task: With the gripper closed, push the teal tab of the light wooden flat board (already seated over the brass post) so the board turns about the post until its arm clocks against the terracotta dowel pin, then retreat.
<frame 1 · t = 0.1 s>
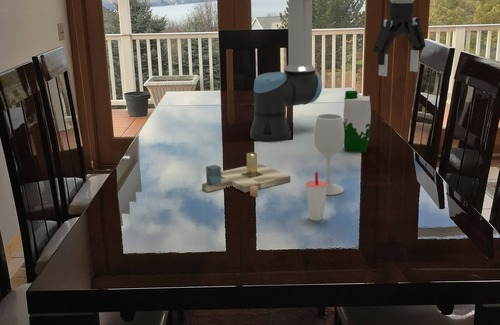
hand: (398, 73, 189), 28 cm above the table, fingers open, 13 cm apart
dowel: (254, 195, 168), on the table
cup: (316, 218, 152), on the table
light wooden flat board: (240, 171, 178), point 3 cm above the table, hinge at 0.0°
post: (252, 180, 181), on the table
milk carton: (355, 150, 211), on the table
wineglass: (328, 190, 172), on the table
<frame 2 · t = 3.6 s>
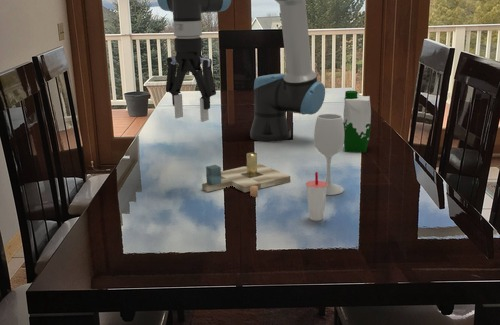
hand: (191, 119, 173), 19 cm above the table, fingers open, 8 cm apart
nothing on the table moved.
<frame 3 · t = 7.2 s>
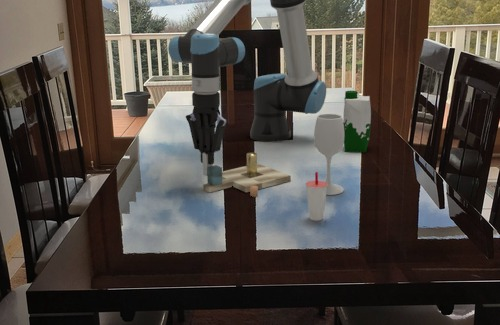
hand: (207, 174, 174), 4 cm above the table, fingers closed
light wooden flat board: (240, 171, 178), point 3 cm above the table, hinge at 2.5°, touching gripper
everything else where it was.
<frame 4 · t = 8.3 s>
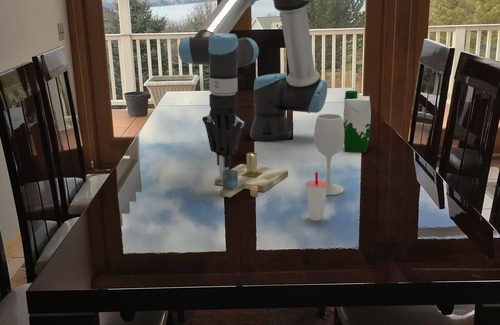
hand: (224, 177, 170), 4 cm above the table, fingers closed
light wooden flat board: (245, 173, 177), point 3 cm above the table, hinge at 28.7°, touching gripper
everything else where it was.
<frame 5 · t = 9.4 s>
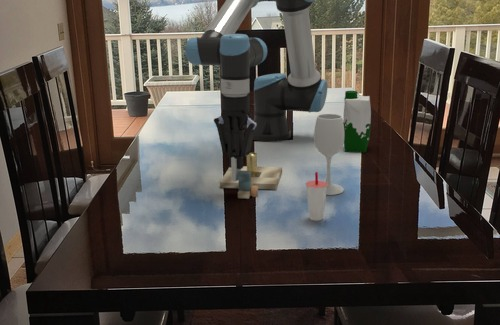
hand: (236, 179, 169), 4 cm above the table, fingers closed
light wooden flat board: (249, 173, 176), point 3 cm above the table, hinge at 47.4°, touching dowel, gripper
everything else where it was.
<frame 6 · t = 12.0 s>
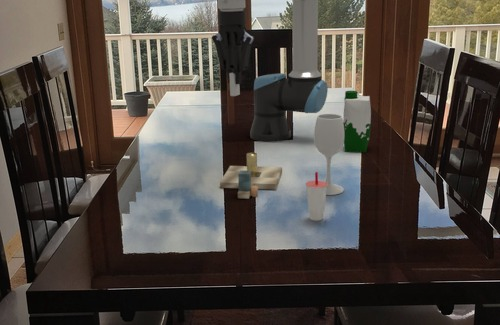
hand: (235, 95, 175), 25 cm above the table, fingers closed
light wooden flat board: (249, 173, 176), point 3 cm above the table, hinge at 47.3°, touching dowel
everything else where it was.
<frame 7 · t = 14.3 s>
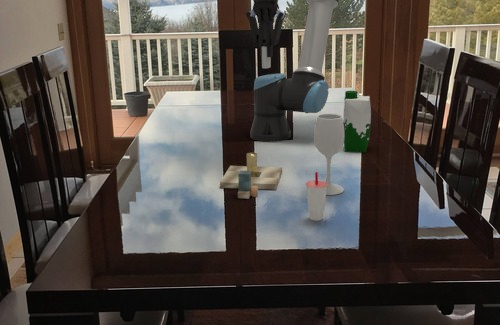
hand: (266, 67, 189), 30 cm above the table, fingers closed
nothing on the table moved.
at the end: light wooden flat board at +47° (first picture: +0°); light wooden flat board touching dowel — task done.
